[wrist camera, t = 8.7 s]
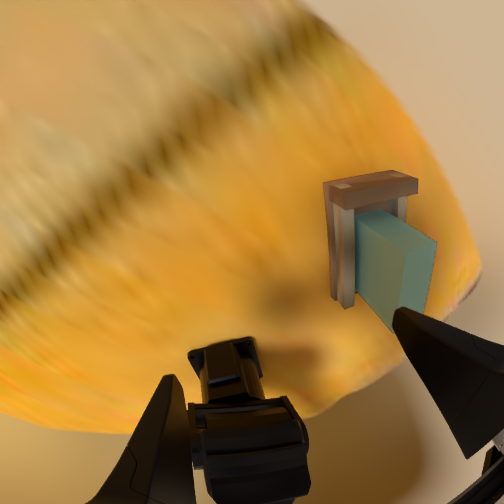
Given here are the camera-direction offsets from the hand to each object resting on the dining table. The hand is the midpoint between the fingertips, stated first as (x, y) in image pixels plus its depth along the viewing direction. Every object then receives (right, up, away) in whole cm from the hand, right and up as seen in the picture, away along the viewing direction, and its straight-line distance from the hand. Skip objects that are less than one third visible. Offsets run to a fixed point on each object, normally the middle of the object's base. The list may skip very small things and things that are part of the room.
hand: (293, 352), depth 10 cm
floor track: (+8, +5, +13) cm, 17 cm away
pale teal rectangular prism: (+8, +4, +13) cm, 16 cm away
